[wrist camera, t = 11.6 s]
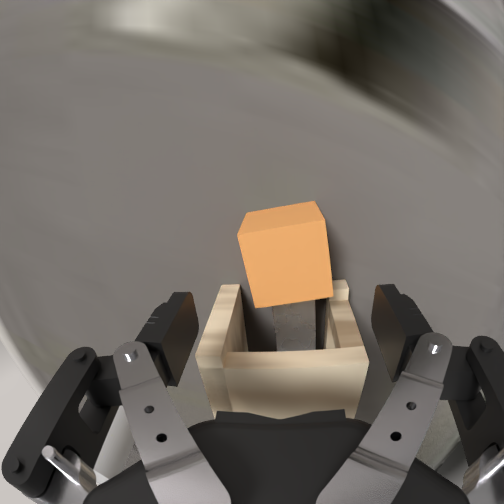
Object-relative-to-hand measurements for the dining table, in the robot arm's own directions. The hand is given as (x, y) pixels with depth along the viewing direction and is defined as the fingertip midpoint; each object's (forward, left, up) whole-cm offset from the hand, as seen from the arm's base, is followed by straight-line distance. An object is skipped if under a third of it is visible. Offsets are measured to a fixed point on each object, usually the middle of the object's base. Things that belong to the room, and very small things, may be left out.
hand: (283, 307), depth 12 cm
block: (-1, 0, -10) cm, 10 cm away
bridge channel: (-16, 0, -10) cm, 19 cm away
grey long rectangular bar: (-9, -1, -10) cm, 14 cm away
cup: (-25, +24, -10) cm, 36 cm away
